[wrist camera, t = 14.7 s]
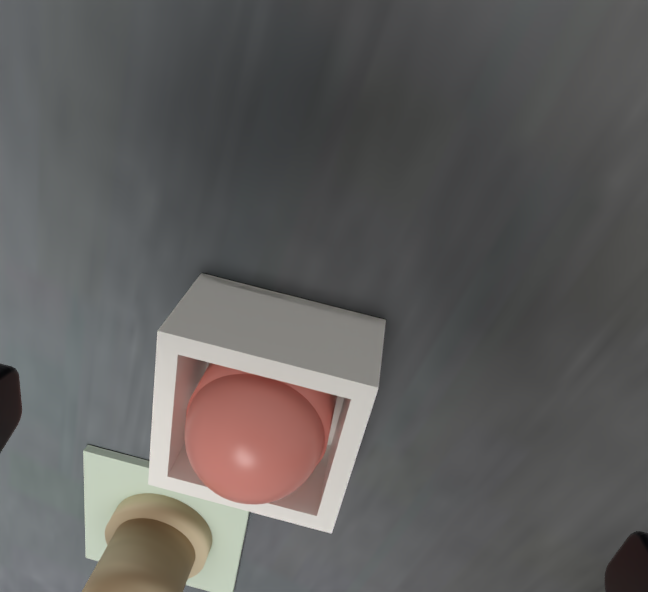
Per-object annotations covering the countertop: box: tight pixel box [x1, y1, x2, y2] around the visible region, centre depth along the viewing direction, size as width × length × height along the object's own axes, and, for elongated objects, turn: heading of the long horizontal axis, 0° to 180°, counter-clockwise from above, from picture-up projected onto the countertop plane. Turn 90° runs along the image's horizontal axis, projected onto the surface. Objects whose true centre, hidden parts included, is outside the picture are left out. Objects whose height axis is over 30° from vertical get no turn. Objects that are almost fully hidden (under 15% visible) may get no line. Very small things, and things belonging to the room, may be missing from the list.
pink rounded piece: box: [184, 363, 337, 505], centre depth 20 cm, size 5×5×5 cm
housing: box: [148, 273, 386, 534], centre depth 21 cm, size 7×7×4 cm
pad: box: [83, 445, 250, 592], centre depth 28 cm, size 8×8×1 cm
